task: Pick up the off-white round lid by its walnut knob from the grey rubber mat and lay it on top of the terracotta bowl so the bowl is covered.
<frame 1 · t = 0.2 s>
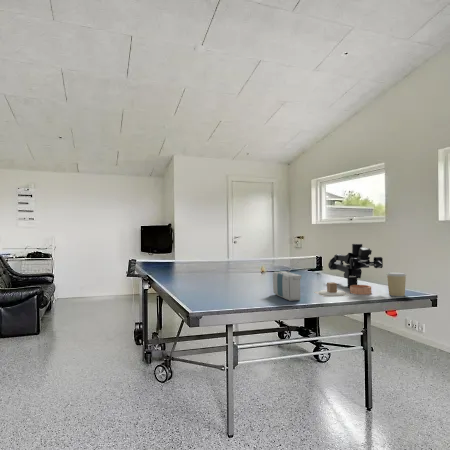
hand: (374, 264, 190), 17 cm above the table, tool horizontal, fingers open, 9 cm apart
lid: (332, 293, 195), resting on mat
white blue box: (287, 298, 188), on the table
mat: (332, 294, 195), on the table
bowl: (360, 293, 197), on the table
coffee cup: (396, 295, 190), on the table
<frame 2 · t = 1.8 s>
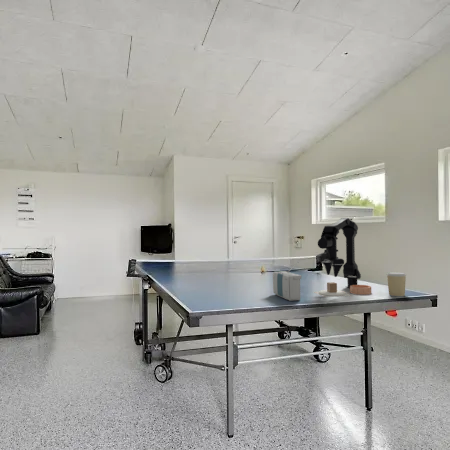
hand: (331, 275, 195), 10 cm above the table, tool pointing down, fingers open, 9 cm apart
nothing on the table moved.
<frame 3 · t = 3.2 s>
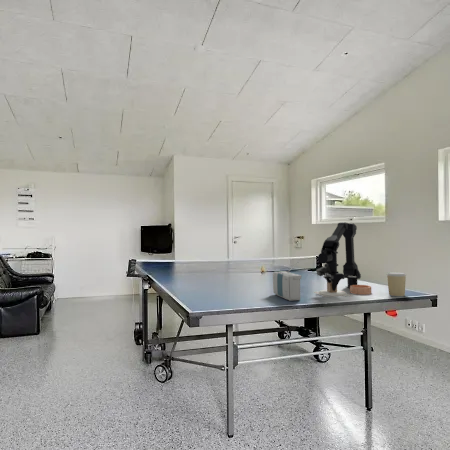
hand: (332, 290, 195), 3 cm above the table, tool pointing down, fingers closed on lid, 4 cm apart
lid: (332, 293, 195), resting on mat, touching gripper
everything else where it was.
when the fingers open (7 cm above the table, at t = 7.1 s): lid drops 1 cm, resting on bowl.
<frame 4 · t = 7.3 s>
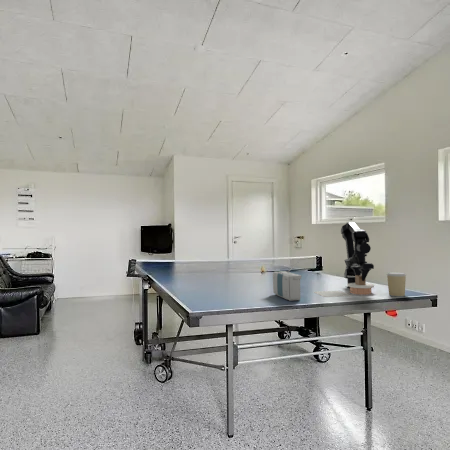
hand: (360, 280, 197), 7 cm above the table, tool pointing down, fingers open, 6 cm apart
lid: (360, 286, 197), point 4 cm above the table, touching bowl
everything else where it was.
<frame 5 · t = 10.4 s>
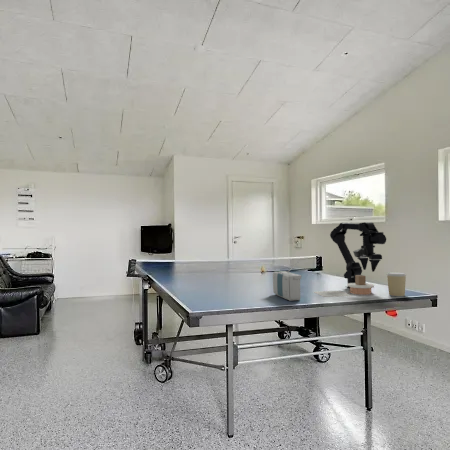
hand: (368, 270, 203), 12 cm above the table, tool pointing down, fingers open, 9 cm apart
nothing on the table moved.
at the end: lid 0.0 cm off-centre on the bowl, point 4.0 cm above the bowl's base; lid tilted 0°; the gripper is holding nothing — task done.
